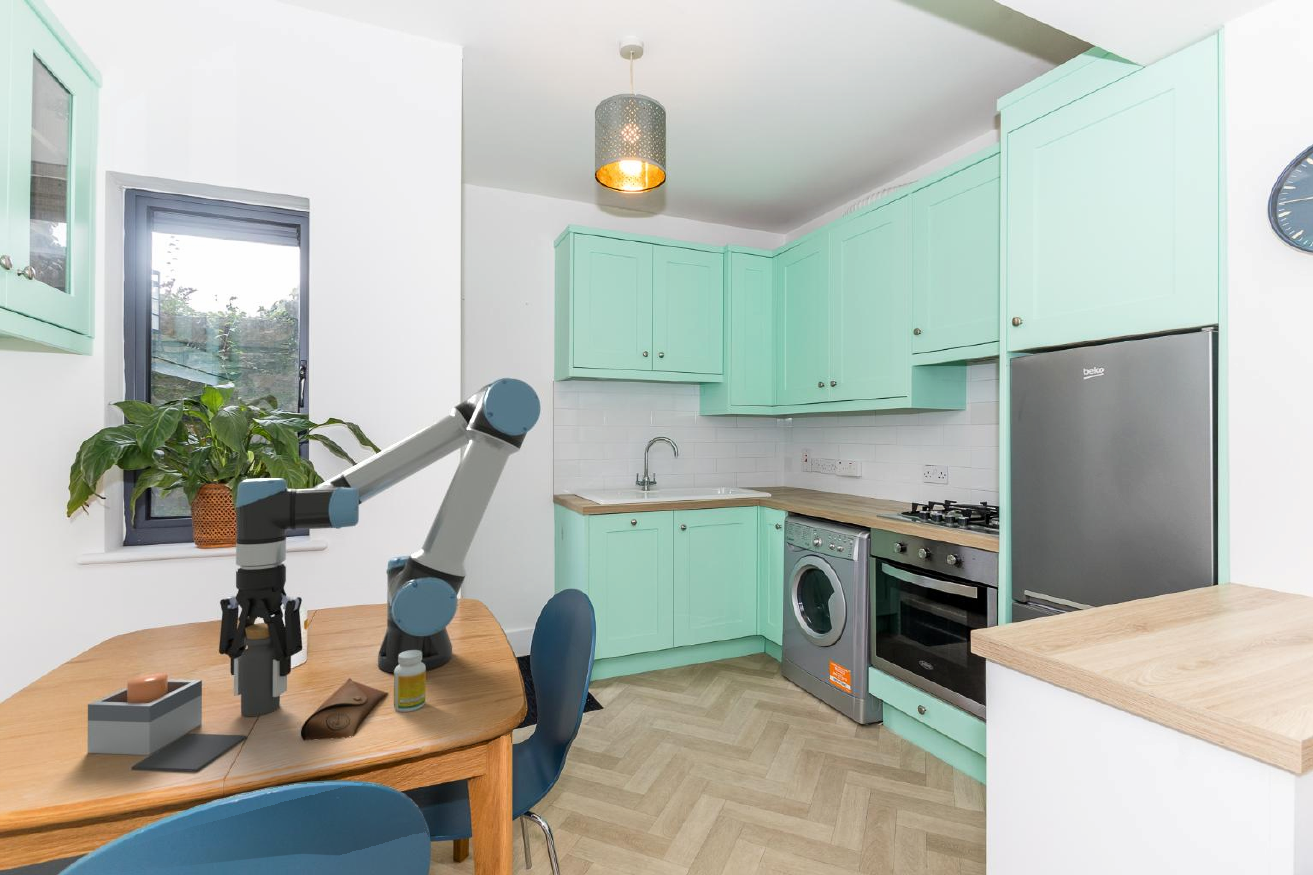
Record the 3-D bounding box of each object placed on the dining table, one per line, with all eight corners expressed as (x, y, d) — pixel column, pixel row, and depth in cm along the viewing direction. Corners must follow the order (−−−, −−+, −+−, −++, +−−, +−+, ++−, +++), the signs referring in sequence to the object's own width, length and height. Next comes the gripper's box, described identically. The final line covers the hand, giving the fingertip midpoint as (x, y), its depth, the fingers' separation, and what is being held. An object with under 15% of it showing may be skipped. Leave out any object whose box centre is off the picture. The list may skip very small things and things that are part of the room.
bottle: (260, 718, 105) (261, 632, 105) (232, 715, 106) (232, 629, 106) (287, 703, 111) (288, 622, 111) (260, 700, 112) (260, 619, 112)
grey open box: (201, 724, 103) (202, 680, 103) (149, 754, 93) (149, 706, 93) (145, 722, 103) (145, 678, 103) (87, 752, 93) (87, 704, 93)
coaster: (246, 737, 98) (246, 735, 98) (196, 771, 88) (196, 768, 88) (187, 735, 99) (187, 733, 99) (131, 769, 89) (131, 766, 89)
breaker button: (175, 709, 100) (175, 673, 100) (148, 723, 95) (148, 685, 95) (146, 708, 101) (146, 672, 101) (118, 722, 96) (118, 685, 96)
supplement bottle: (387, 707, 109) (388, 654, 109) (414, 697, 114) (414, 646, 114) (404, 715, 106) (405, 661, 106) (431, 704, 111) (431, 652, 111)
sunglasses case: (355, 737, 98) (333, 703, 98) (315, 761, 98) (293, 727, 97) (390, 691, 116) (372, 662, 116) (357, 711, 115) (338, 682, 115)
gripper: (326, 561, 112) (325, 685, 112) (225, 559, 113) (224, 683, 113) (300, 570, 104) (299, 703, 104) (192, 568, 105) (191, 700, 105)
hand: (260, 692), depth 108 cm, fingers open, 6 cm apart
